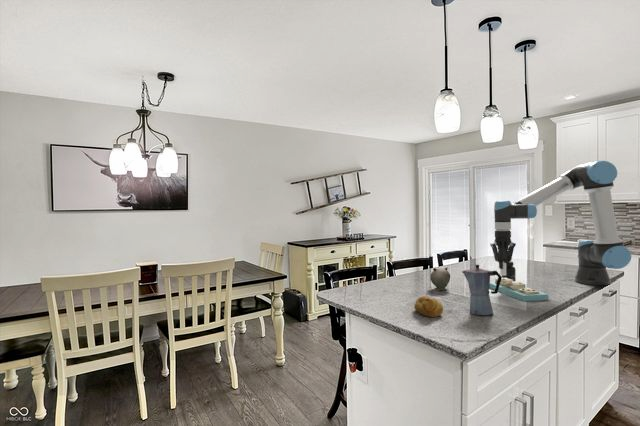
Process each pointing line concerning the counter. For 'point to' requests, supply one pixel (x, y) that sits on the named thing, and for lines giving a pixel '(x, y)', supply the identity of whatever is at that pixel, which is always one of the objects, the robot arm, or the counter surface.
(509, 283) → the key two
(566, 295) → the counter surface
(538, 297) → the teal puzzle board
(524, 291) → the key three
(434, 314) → the bread roll
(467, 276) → the moka pot
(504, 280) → the key one
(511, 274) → the supplement bottle
